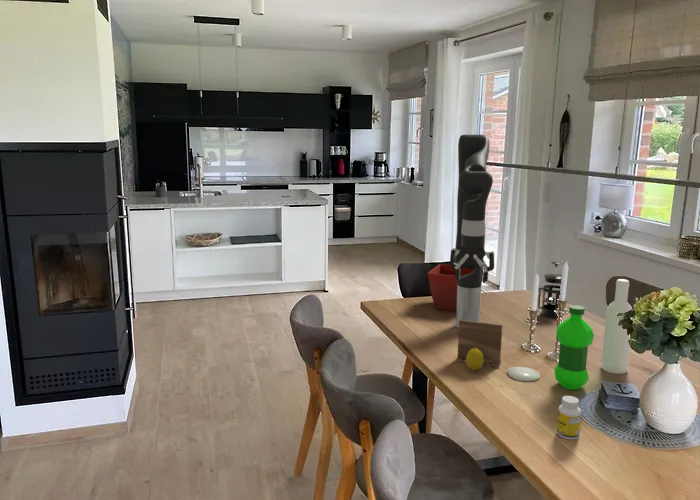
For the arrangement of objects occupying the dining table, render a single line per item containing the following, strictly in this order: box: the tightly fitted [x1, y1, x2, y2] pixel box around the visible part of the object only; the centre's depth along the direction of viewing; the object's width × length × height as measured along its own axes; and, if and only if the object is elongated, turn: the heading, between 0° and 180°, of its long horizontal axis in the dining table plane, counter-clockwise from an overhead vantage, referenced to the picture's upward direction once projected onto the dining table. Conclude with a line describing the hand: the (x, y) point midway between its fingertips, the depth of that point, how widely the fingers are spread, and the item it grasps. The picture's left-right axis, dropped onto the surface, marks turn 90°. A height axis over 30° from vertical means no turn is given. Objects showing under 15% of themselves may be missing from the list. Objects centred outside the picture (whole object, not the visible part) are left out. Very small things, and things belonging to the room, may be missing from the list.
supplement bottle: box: [556, 395, 582, 441], centre depth 144 cm, size 5×5×10 cm
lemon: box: [465, 348, 484, 372], centre depth 183 cm, size 6×6×8 cm
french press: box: [537, 261, 563, 319], centre depth 239 cm, size 12×9×23 cm
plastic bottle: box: [554, 304, 594, 391], centre depth 170 cm, size 10×10×25 cm
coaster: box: [506, 366, 541, 382], centre depth 181 cm, size 10×10×1 cm
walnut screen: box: [455, 319, 503, 369], centre depth 189 cm, size 5×14×14 cm, turn 68°
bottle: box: [600, 278, 633, 375], centre depth 182 cm, size 8×8×30 cm
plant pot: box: [427, 263, 474, 312], centre depth 250 cm, size 19×19×17 cm
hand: (471, 280), depth 188 cm, fingers open, 8 cm apart
